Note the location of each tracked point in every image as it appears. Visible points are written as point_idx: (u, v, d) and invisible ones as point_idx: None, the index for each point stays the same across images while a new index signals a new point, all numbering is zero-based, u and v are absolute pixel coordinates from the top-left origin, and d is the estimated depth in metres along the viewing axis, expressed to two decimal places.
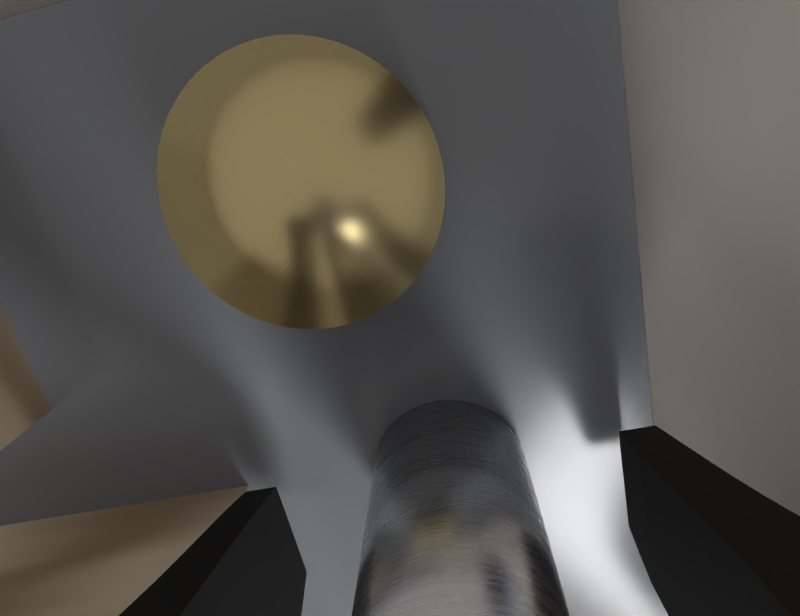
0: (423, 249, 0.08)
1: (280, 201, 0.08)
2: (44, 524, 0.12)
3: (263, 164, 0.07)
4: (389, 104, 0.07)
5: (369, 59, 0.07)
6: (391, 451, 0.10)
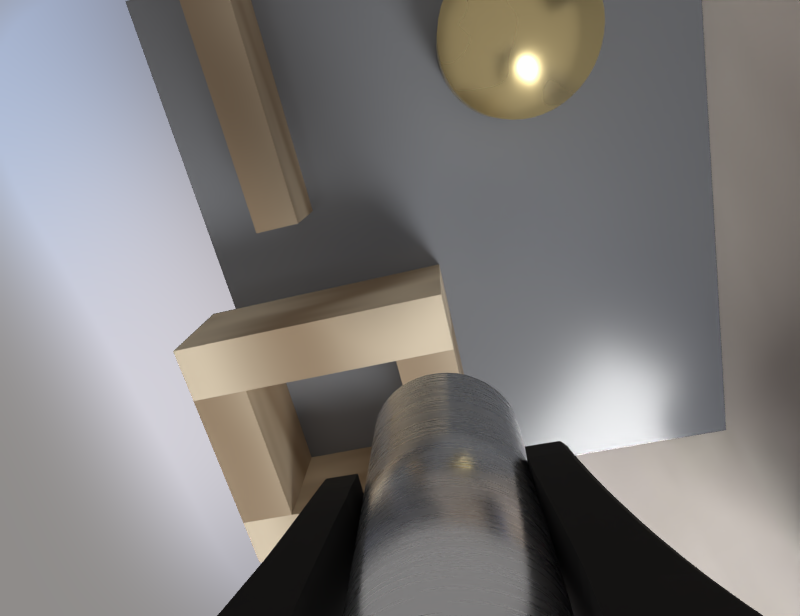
0: (589, 64, 0.13)
1: (508, 36, 0.13)
2: (298, 297, 0.18)
3: (501, 13, 0.13)
4: None
5: None
6: (393, 416, 0.10)
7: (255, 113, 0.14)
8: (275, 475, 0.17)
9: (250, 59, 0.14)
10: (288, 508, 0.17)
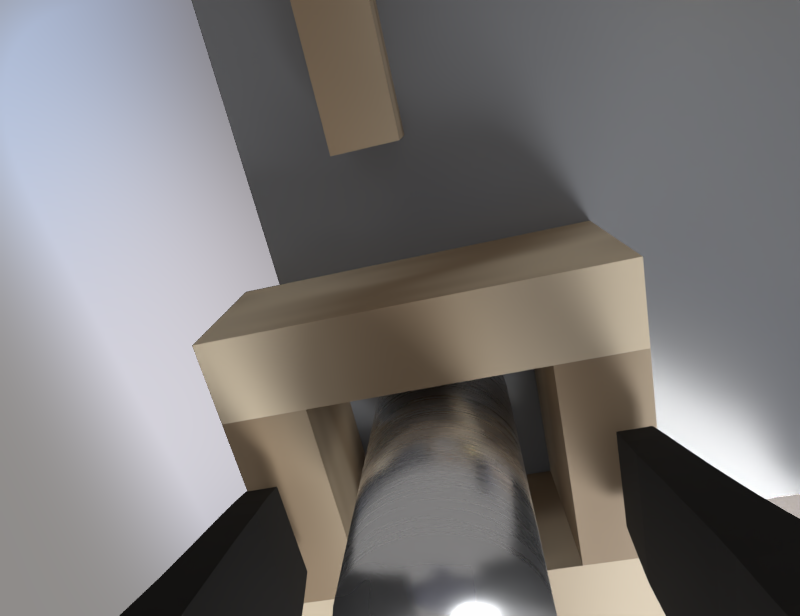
0: None
1: None
2: (374, 267, 0.12)
3: None
4: None
5: None
6: None
7: None
8: (343, 538, 0.11)
9: None
10: None
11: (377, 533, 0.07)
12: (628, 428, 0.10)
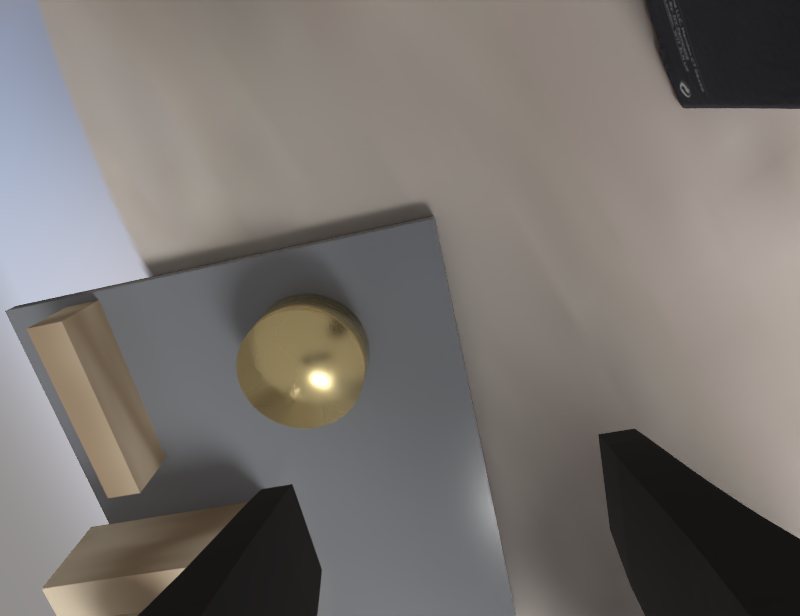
0: (355, 395, 0.17)
1: (291, 375, 0.17)
2: (158, 519, 0.21)
3: (283, 360, 0.17)
4: (338, 338, 0.17)
5: (329, 321, 0.17)
6: None
7: (100, 419, 0.18)
8: None
9: (94, 381, 0.18)
10: None
11: None
12: None
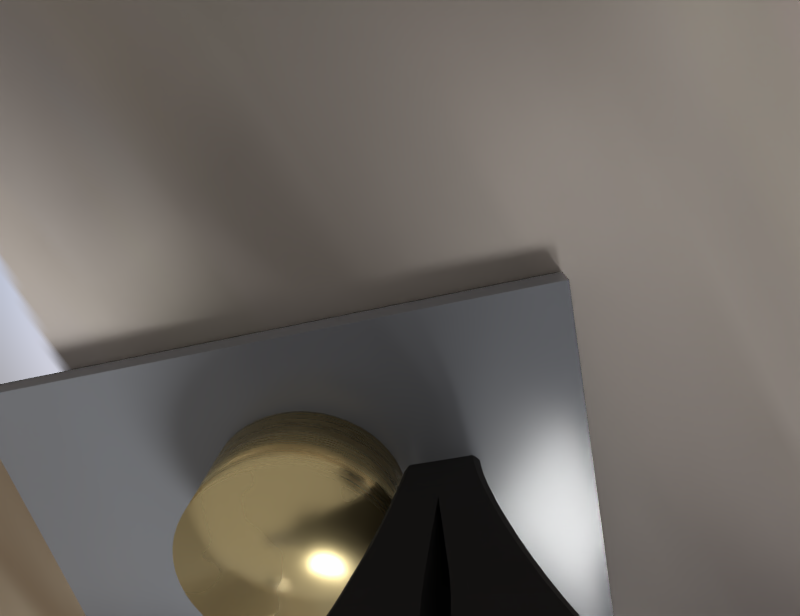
0: None
1: (272, 571, 0.09)
2: None
3: (259, 548, 0.09)
4: (359, 513, 0.09)
5: (342, 484, 0.09)
6: None
7: None
8: None
9: None
10: None
11: None
12: None
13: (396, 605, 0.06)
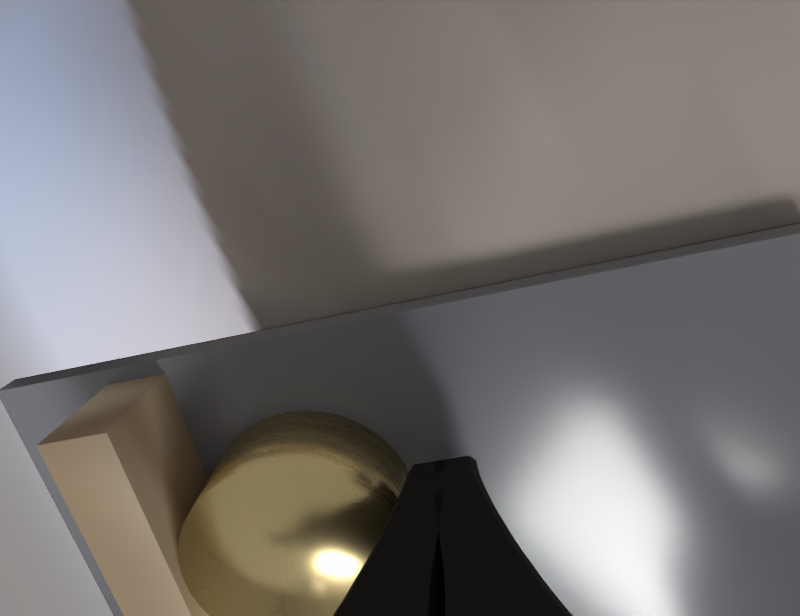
0: None
1: (278, 571, 0.09)
2: None
3: (265, 548, 0.09)
4: (366, 514, 0.09)
5: (350, 485, 0.09)
6: None
7: (173, 603, 0.10)
8: None
9: (164, 535, 0.09)
10: None
11: None
12: None
13: (403, 604, 0.06)
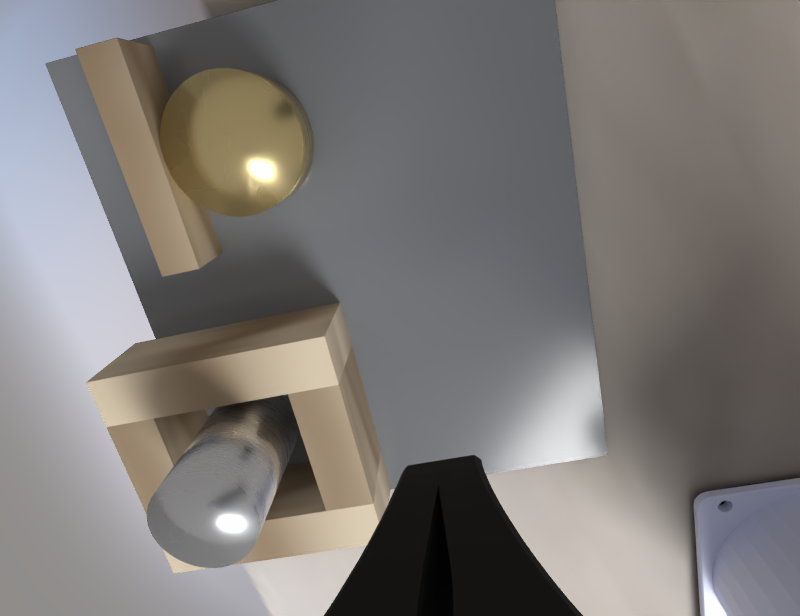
0: (292, 174, 0.16)
1: (221, 149, 0.15)
2: (211, 329, 0.19)
3: (213, 130, 0.15)
4: (272, 101, 0.15)
5: (262, 80, 0.15)
6: None
7: (157, 171, 0.15)
8: None
9: (151, 123, 0.15)
10: None
11: (168, 477, 0.15)
12: (335, 429, 0.17)
13: (393, 605, 0.06)
